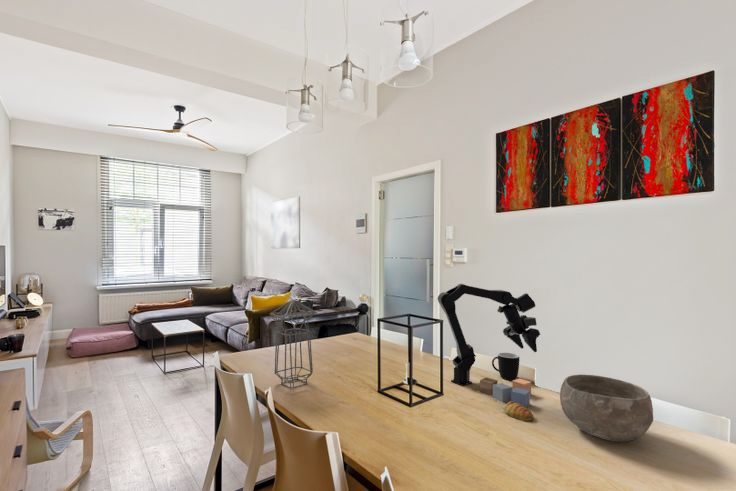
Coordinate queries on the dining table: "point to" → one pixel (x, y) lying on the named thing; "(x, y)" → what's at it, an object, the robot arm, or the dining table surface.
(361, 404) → the dining table surface
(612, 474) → the dining table surface
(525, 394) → the blue cube
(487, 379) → the walnut cube
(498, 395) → the slate cube
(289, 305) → the geometric lantern
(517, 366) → the mug
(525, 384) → the terracotta cube
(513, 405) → the pastry
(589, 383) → the bowl
